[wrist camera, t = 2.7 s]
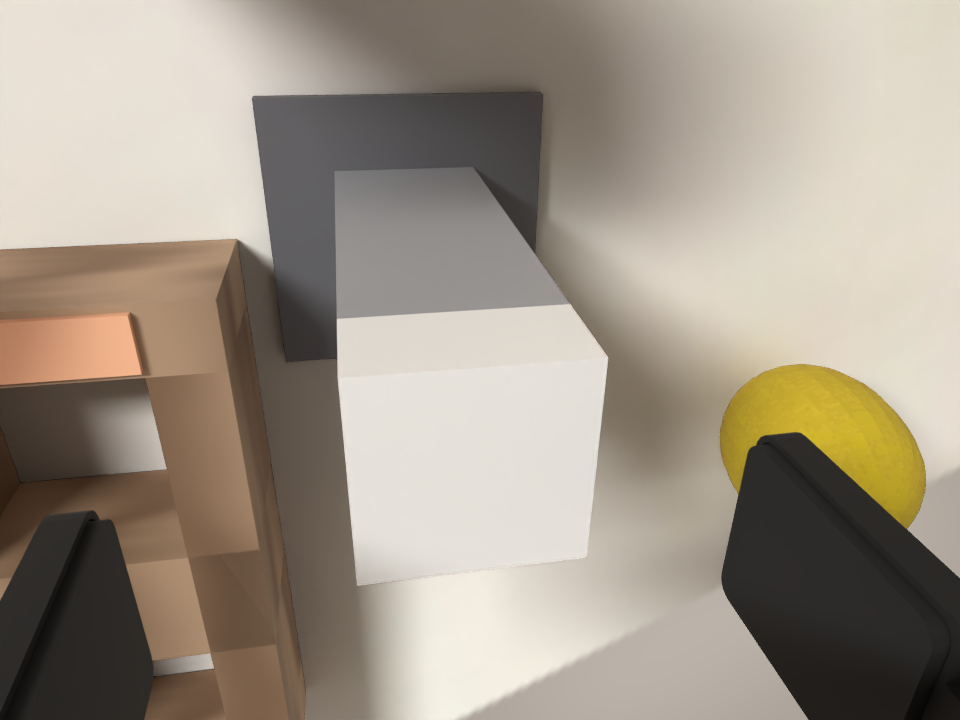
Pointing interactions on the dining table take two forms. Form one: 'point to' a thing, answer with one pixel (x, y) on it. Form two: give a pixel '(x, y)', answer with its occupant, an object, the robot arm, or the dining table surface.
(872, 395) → the lemon
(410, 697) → the dining table surface
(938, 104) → the dining table surface
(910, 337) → the dining table surface
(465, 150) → the mat
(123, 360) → the socket block
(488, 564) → the plug
